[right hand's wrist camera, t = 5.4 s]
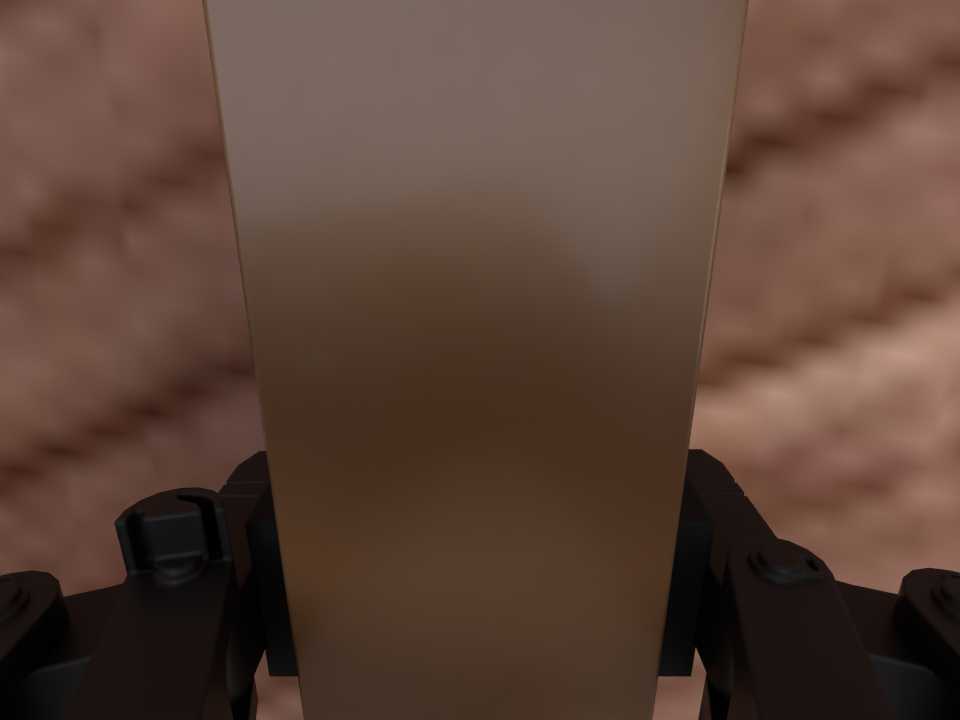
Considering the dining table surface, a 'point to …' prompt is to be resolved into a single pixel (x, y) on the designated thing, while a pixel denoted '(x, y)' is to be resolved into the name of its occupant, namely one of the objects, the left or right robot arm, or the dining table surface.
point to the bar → (476, 333)
